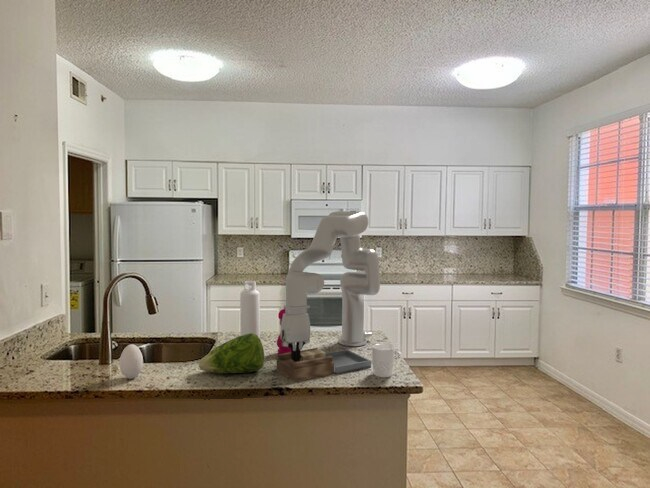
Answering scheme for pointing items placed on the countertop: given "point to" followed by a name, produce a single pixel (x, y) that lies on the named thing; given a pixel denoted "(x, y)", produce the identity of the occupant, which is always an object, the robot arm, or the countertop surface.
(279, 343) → the pepper mill
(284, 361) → the brown wooden box
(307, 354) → the chip
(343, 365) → the tray
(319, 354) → the chip
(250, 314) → the bottle
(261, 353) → the lettuce
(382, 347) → the white cup
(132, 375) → the egg
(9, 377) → the countertop surface
